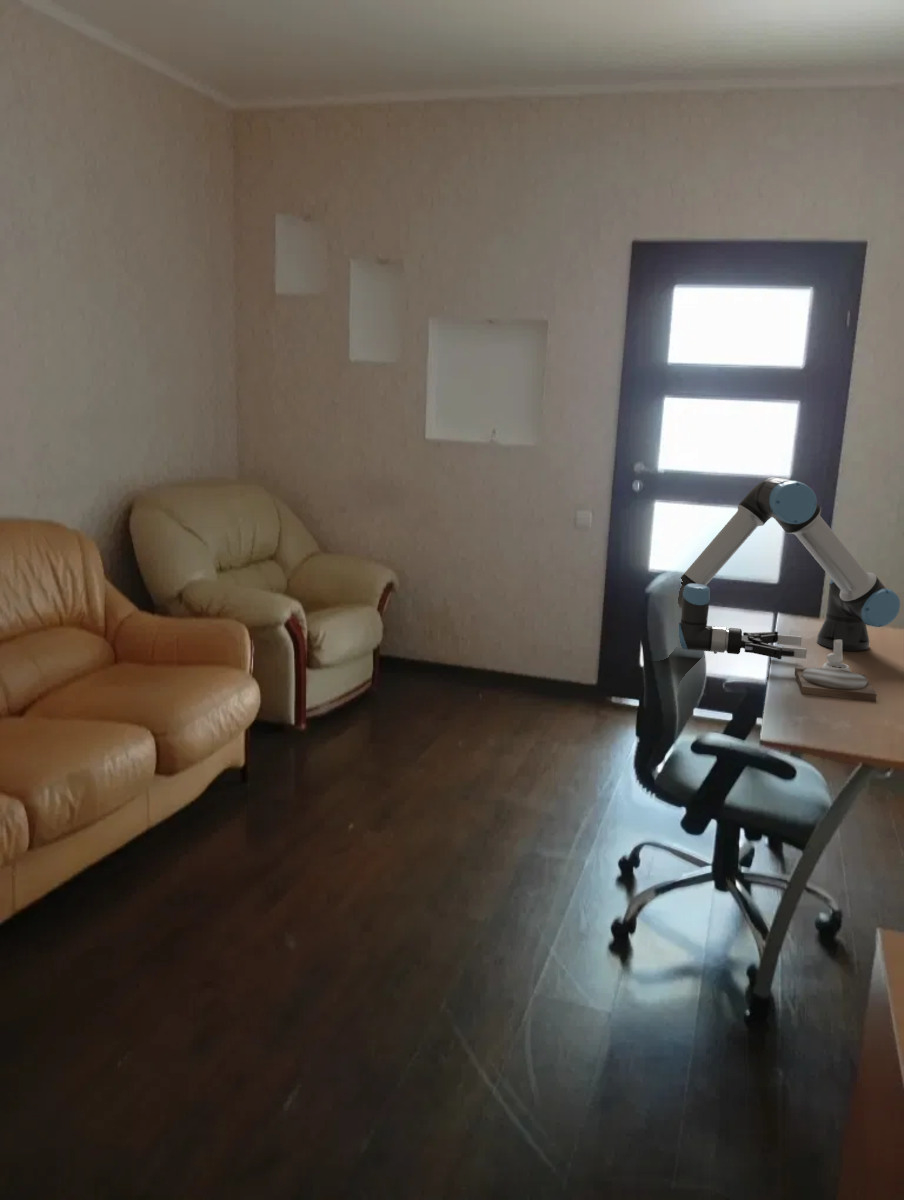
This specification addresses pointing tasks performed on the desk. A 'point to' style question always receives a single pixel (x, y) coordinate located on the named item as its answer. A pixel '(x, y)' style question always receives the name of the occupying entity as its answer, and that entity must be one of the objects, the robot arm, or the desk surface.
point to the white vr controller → (836, 657)
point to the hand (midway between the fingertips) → (803, 647)
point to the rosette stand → (834, 683)
